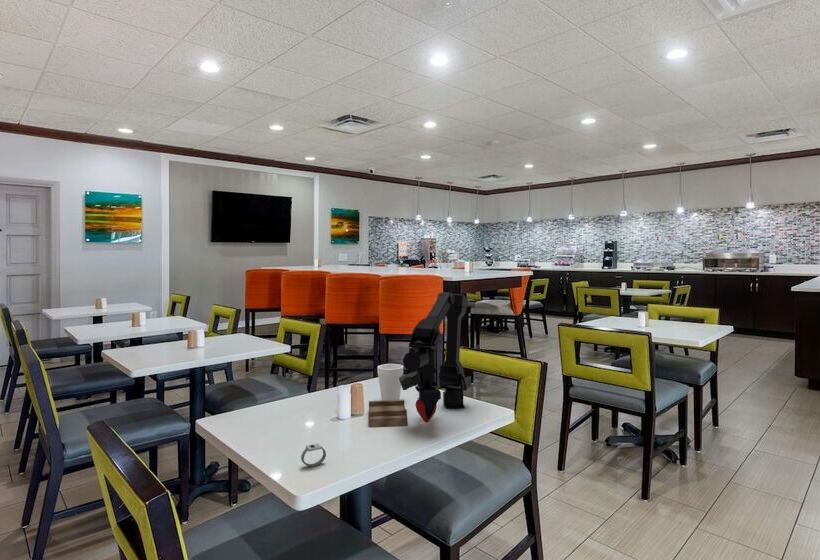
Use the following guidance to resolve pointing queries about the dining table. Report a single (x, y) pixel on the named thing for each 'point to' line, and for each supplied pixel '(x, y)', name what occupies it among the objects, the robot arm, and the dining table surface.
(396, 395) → the foam cup
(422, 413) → the strawberry
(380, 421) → the stand
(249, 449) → the dining table surface
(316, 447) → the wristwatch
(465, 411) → the dining table surface
